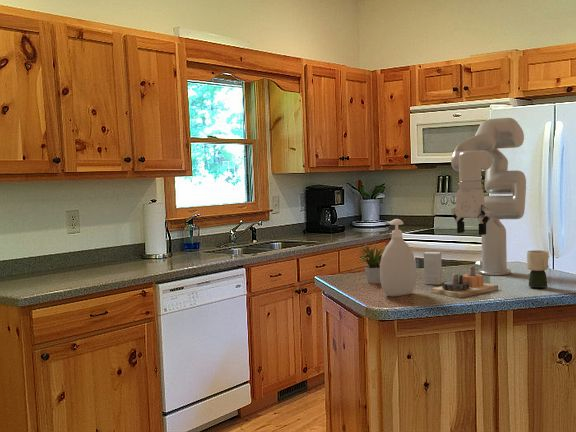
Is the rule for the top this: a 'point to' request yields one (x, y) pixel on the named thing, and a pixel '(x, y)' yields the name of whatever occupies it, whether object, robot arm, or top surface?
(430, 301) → the top surface
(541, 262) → the character mug
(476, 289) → the gear board
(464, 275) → the loose gear
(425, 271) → the skincare box
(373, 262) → the house plant
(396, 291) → the soap bottle
